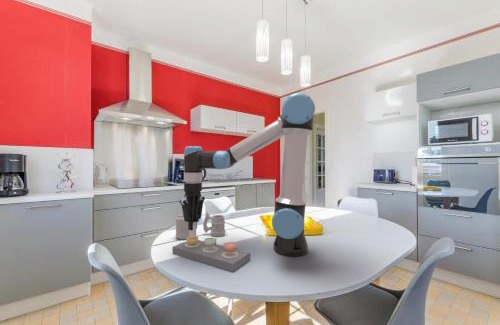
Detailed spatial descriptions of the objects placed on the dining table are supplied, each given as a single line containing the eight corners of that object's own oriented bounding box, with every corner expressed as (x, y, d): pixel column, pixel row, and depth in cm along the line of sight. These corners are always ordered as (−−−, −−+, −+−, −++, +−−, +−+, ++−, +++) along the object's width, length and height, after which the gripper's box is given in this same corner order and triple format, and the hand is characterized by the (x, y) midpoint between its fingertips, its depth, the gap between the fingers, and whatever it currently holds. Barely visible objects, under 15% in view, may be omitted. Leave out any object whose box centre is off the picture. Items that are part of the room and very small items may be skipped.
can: (183, 241, 115) (183, 216, 115) (172, 238, 119) (172, 214, 119) (194, 237, 121) (194, 213, 121) (184, 234, 125) (184, 211, 125)
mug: (224, 237, 122) (225, 214, 122) (201, 237, 121) (201, 213, 121) (225, 232, 129) (226, 210, 129) (204, 232, 129) (204, 210, 129)
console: (250, 260, 94) (250, 252, 94) (232, 272, 84) (232, 263, 84) (193, 245, 110) (193, 238, 110) (172, 253, 100) (172, 246, 100)
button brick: (239, 248, 92) (239, 243, 92) (231, 253, 88) (231, 247, 88) (228, 246, 95) (228, 241, 95) (221, 250, 91) (221, 245, 91)
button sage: (219, 244, 98) (219, 239, 98) (211, 247, 93) (211, 242, 93) (209, 241, 100) (209, 237, 100) (201, 245, 96) (201, 240, 96)
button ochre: (200, 241, 103) (200, 237, 103) (192, 245, 99) (192, 240, 99) (192, 239, 105) (192, 235, 105) (183, 243, 101) (184, 238, 101)
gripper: (197, 180, 109) (196, 231, 109) (175, 183, 98) (174, 239, 98) (209, 181, 105) (209, 234, 106) (188, 184, 94) (187, 243, 94)
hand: (192, 236), depth 102 cm, fingers closed
